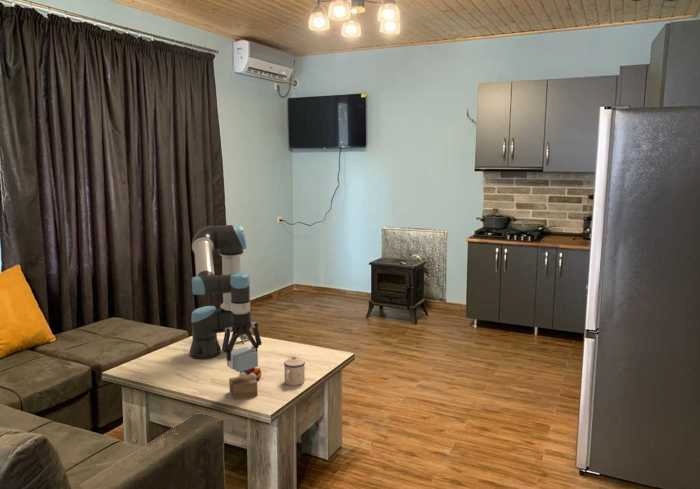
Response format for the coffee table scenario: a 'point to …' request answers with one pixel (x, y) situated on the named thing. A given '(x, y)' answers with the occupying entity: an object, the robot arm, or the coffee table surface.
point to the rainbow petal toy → (252, 373)
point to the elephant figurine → (243, 337)
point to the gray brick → (244, 359)
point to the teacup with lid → (294, 371)
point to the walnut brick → (243, 387)
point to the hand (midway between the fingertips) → (242, 365)
